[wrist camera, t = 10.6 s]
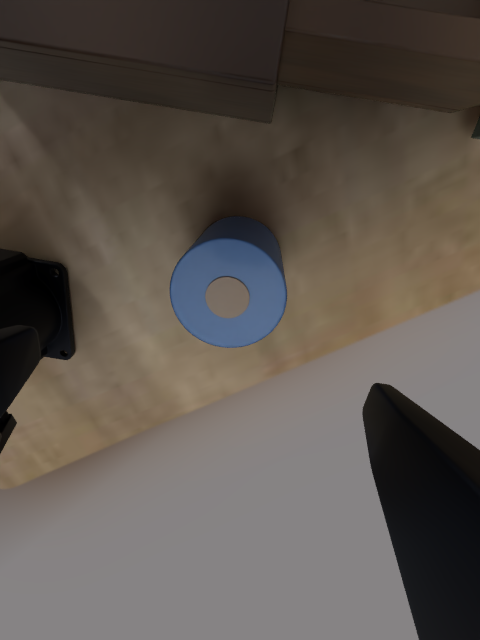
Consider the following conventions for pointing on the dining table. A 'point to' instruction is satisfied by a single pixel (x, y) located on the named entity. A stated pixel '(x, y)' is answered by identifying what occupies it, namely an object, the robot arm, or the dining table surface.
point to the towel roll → (230, 284)
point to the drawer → (386, 51)
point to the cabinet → (150, 51)
